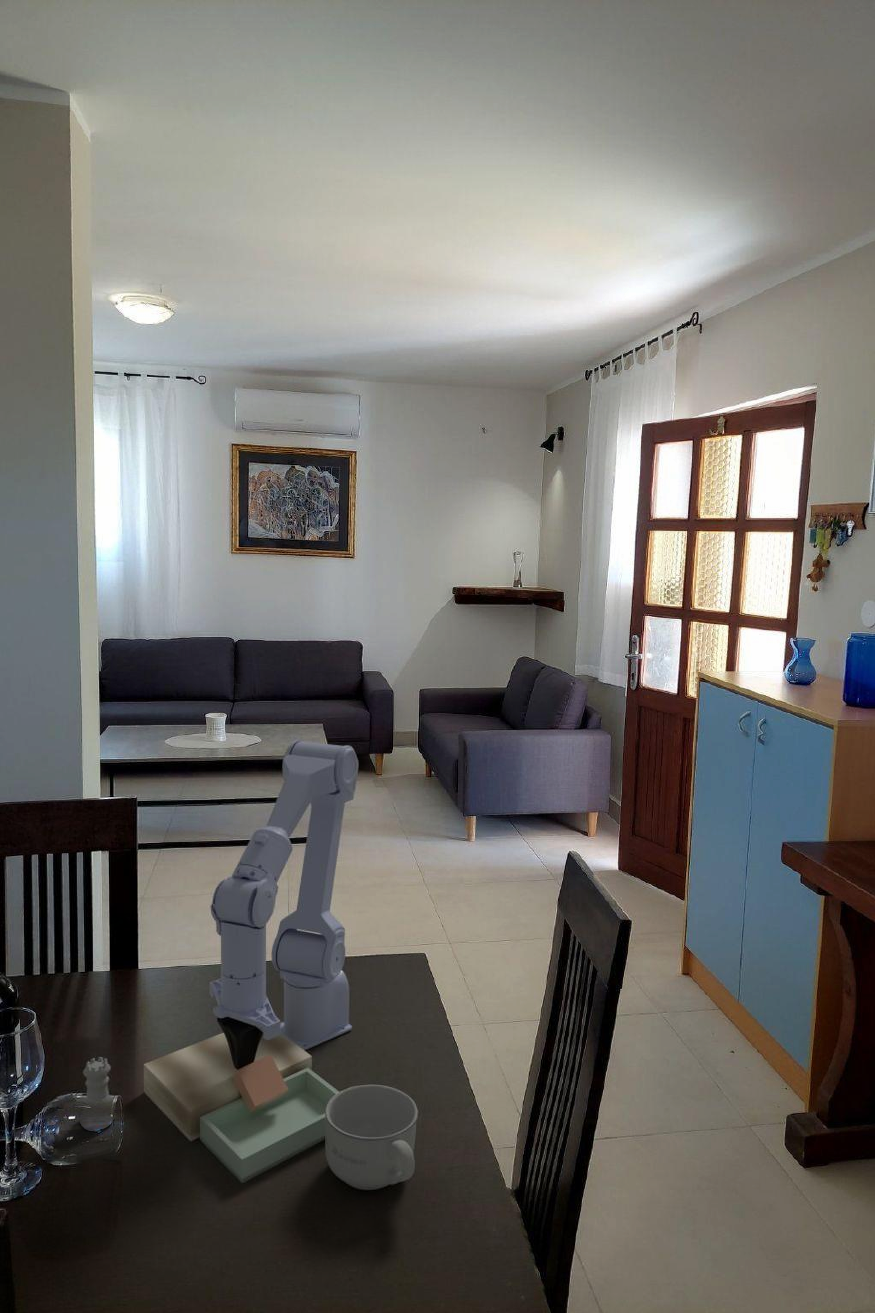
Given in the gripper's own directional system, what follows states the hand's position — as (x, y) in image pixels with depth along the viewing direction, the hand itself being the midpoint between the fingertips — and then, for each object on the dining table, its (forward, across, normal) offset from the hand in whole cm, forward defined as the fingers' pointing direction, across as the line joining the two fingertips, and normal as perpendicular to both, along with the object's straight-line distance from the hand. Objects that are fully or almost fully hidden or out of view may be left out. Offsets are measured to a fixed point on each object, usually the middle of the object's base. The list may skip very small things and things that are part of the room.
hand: (243, 1067), depth 116 cm
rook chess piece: (+5, -8, -16) cm, 19 cm away
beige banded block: (+5, -4, 0) cm, 6 cm away
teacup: (+5, +23, +4) cm, 24 cm away
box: (+5, +8, 0) cm, 9 cm away
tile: (+1, +3, 0) cm, 3 cm away
